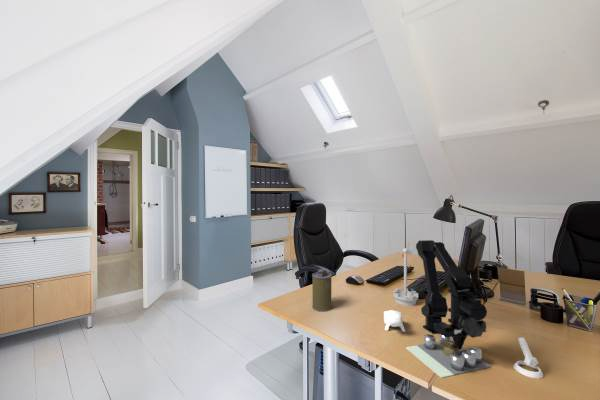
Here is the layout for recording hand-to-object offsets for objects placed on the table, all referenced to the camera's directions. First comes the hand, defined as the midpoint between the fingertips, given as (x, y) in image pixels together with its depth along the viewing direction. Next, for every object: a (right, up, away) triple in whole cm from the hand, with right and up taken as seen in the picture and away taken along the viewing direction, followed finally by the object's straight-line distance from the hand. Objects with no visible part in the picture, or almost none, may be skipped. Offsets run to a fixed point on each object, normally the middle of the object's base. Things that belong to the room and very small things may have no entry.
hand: (459, 348), depth 103 cm
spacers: (-3, -1, -2) cm, 4 cm away
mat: (-7, -1, -3) cm, 8 cm away
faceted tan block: (-4, -1, -1) cm, 5 cm away
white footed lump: (-18, -1, +19) cm, 26 cm away
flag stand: (-2, -1, +48) cm, 48 cm away
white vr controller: (+17, -2, -11) cm, 20 cm away
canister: (-48, -1, +42) cm, 64 cm away
